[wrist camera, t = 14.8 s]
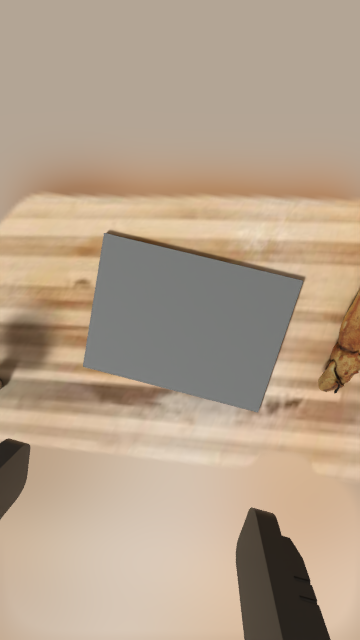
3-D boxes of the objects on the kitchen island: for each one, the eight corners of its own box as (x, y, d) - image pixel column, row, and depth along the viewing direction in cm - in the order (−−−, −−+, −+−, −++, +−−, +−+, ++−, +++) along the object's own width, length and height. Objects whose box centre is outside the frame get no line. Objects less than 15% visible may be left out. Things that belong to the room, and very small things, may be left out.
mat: (301, 280, 31) (303, 280, 31) (256, 410, 36) (257, 412, 35) (105, 233, 32) (104, 232, 32) (84, 364, 37) (82, 366, 36)
